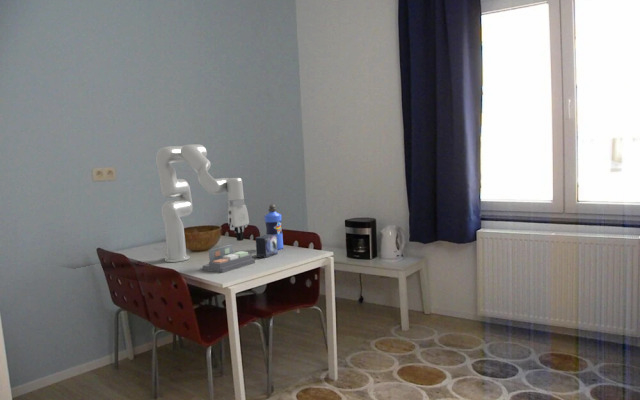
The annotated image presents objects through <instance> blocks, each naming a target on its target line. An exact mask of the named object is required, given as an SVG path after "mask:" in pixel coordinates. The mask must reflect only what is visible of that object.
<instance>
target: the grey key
mask: <svg viewBox="0 0 640 400" xmlns="http://www.w3.org/2000/svg"><path fill="white" fill-rule="evenodd" d="M236 258H238V255H237V254H229V255H225V256H223V259H227V260H233V259H236Z"/></svg>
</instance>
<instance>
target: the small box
mask: <svg viewBox="0 0 640 400" xmlns="http://www.w3.org/2000/svg"><path fill="white" fill-rule="evenodd" d="M255 247H256V249H255V250H256V258H263V259H267V258H270V257H272V256H276V255H278V251H279V250H277V235H270V234H267V235H266V234H264V235H260V236H257V237H255Z"/></svg>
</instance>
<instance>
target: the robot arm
mask: <svg viewBox="0 0 640 400" xmlns="http://www.w3.org/2000/svg"><path fill="white" fill-rule="evenodd" d="M207 156H208V151H207V149H206V147H205V146H204V145H203V144H199V143H198V144H197V143H196V144H185V145H175V146H173V145H170V146H165V147H161V148H159V150H158V151H157V152H156V155H155V164H156V167H157V171H158V175H159V177H158V178H159V183H160V190H161V193H162V196H163V197H164V198H165V199H173V198H174V200H169V201H166V202H164V203H163V204H162V205H161V209H160V210H161V216H162V219H163V223H164V230H165V240H166V241H165V242H166V252H165V253H164V255H165V256H166V258H164V261H165V262H166V263H178V262H179V263H180V262H183V261H187V260H190V258H191V257H190V255H188V254H187V247H186V237H185V226H184V223H183V221H182V220H181V218H182V217H188V216H189V215H191V214H192V213H193V199H192V193H191V192H192V191H191V187H190V184H189V182H188V181H187V180H185V179H183V178H177V172H176V169H175V167H174V165H173V163H175V164H176V163H186V164H187V165H189V166H190V167H191V169H193V171H195V172H196V173H197V179H198V182H199V184H200V186H202V187H203V189H204V190H206V192H207V193H209V194H210V195H213V196H214V195H215V196H216V195H222V194H227V200H228V202H227V206H228V208H227V222H228V226H229V230H230V231H233V232H234V234H235V237H236V241H239V242H240V241H244V232H245V228H247V227H248V225H249V224H250V218H249V213H248V212H249V211H248V209H247V205H246V204H245V197H244V187H243V185H244V184H243V179H242V178H240V177H231V178H230V177H229V178H228V177H222V178H214V177H213V176H212V175H211V174H210V173H209V172H208V171H209V170H210V168H211V166H212V163H211V161H210V160H209V159H208V158H207ZM175 198H176V199H175Z"/></svg>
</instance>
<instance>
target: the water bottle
mask: <svg viewBox="0 0 640 400" xmlns="http://www.w3.org/2000/svg"><path fill="white" fill-rule="evenodd" d="M282 218H283V217H282V214H281V213H279V212H277V208H276V205H275V204H274V203H270V204H269V206H268V213H267V214H265V215H264V223H265V227H266V232H265V233H266V234H265V235H267V234H270V235H277V251H281V249H282V250H283V249H284V238H283V237H284V235H283V230H282Z"/></svg>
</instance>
